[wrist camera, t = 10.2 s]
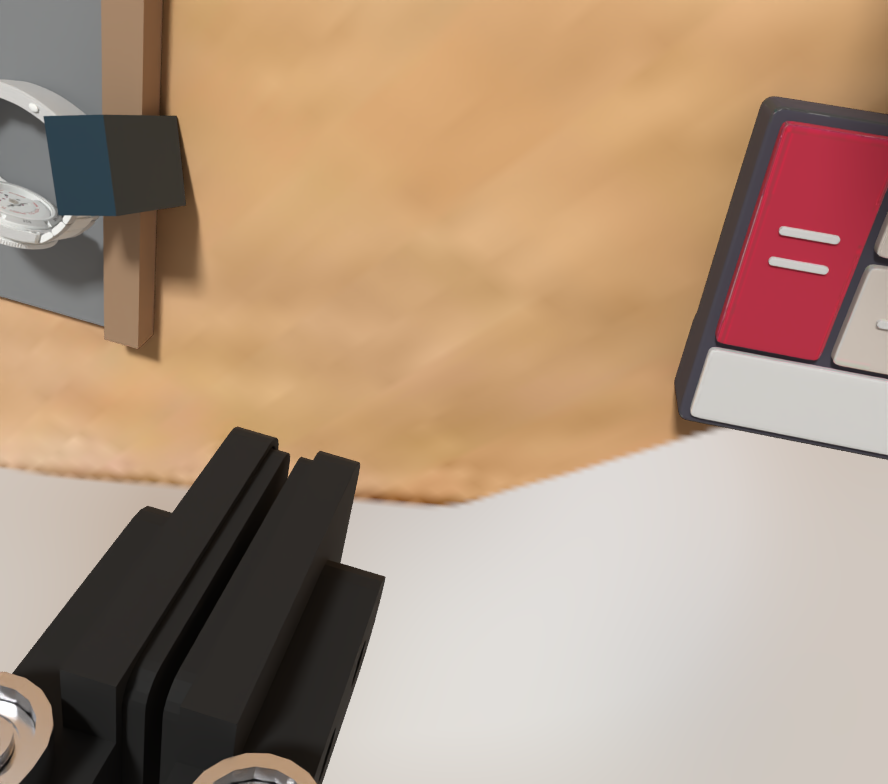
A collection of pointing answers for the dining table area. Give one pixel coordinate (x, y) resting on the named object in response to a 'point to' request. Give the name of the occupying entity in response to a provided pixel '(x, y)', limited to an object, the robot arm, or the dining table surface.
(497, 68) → the dining table surface
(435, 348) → the dining table surface
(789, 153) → the calculator
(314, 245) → the dining table surface
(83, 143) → the watch
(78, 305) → the mat
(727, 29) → the dining table surface
